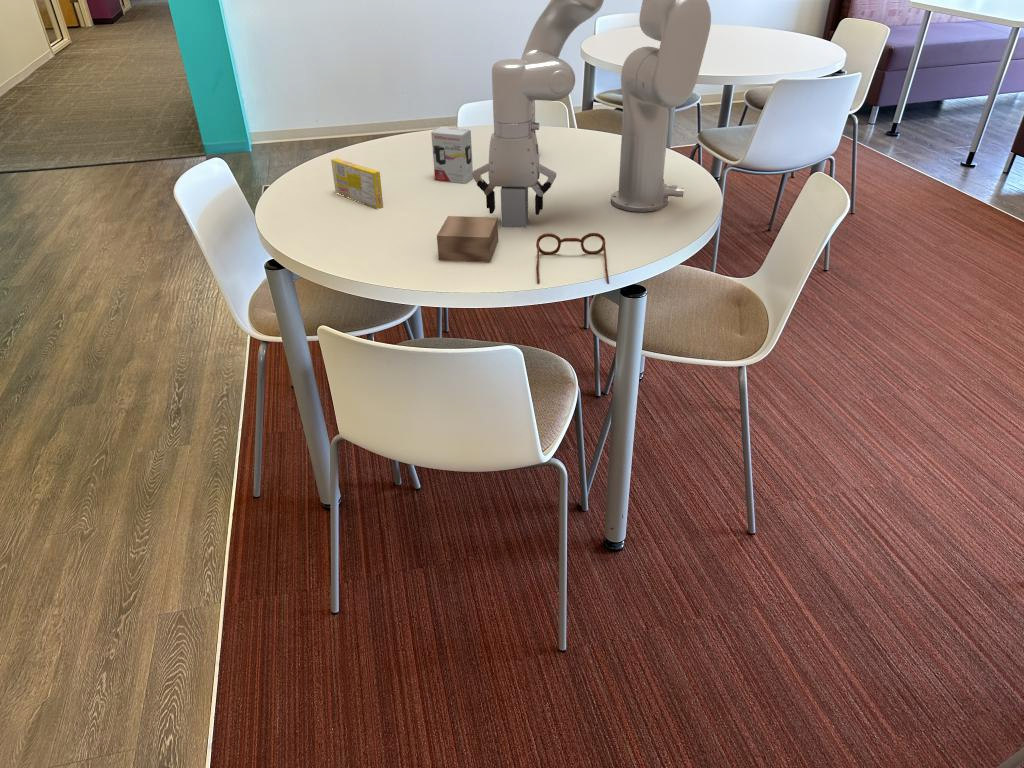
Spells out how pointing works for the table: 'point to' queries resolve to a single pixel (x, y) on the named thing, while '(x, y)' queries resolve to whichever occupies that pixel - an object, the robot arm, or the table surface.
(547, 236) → the glasses
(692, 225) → the table surface
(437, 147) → the ink box
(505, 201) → the grey block
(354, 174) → the candy box
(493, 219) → the block
